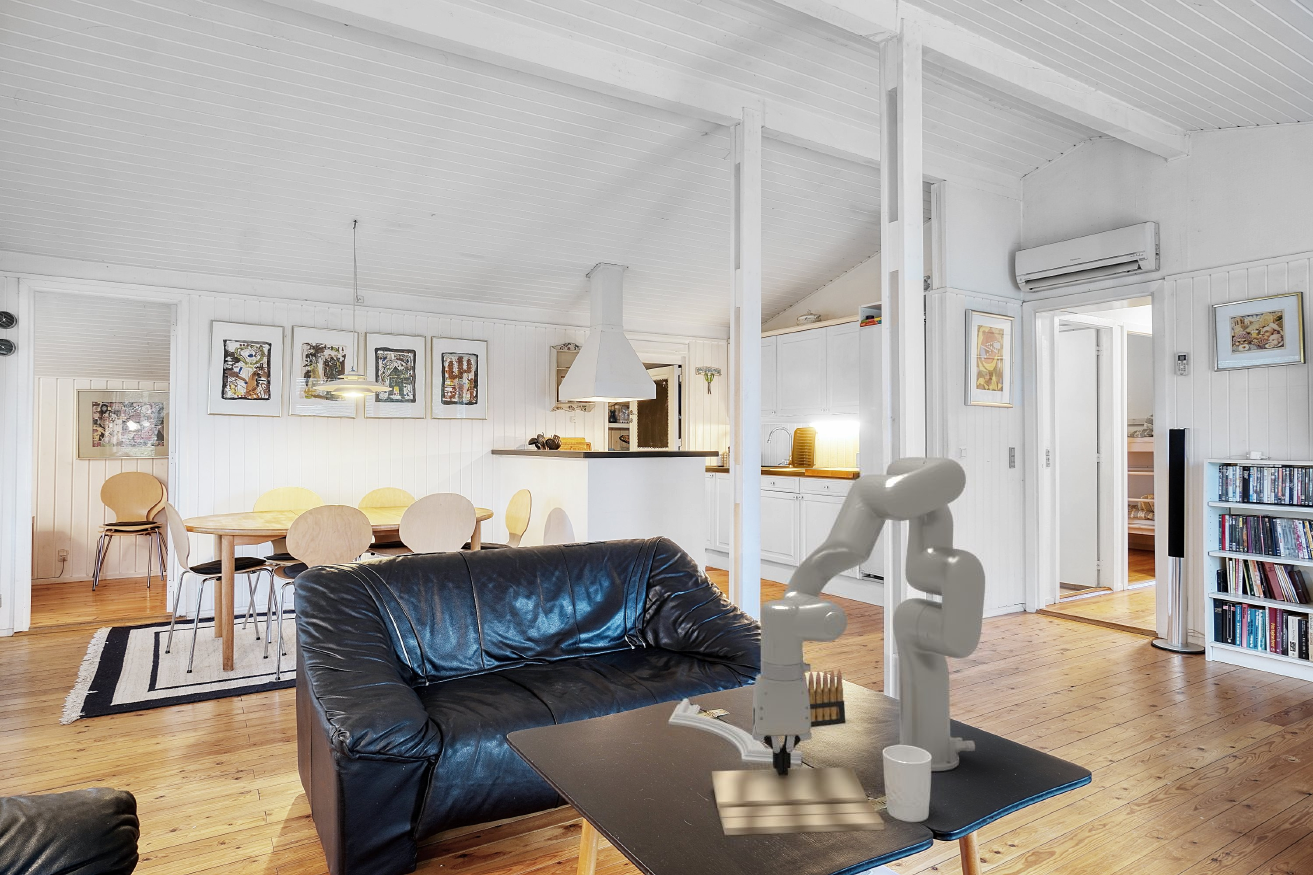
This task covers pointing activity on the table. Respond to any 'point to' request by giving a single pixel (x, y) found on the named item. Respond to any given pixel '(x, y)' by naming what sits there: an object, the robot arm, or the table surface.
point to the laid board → (800, 819)
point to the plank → (787, 787)
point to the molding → (727, 734)
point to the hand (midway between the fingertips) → (781, 771)
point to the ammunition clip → (826, 700)
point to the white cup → (907, 782)
